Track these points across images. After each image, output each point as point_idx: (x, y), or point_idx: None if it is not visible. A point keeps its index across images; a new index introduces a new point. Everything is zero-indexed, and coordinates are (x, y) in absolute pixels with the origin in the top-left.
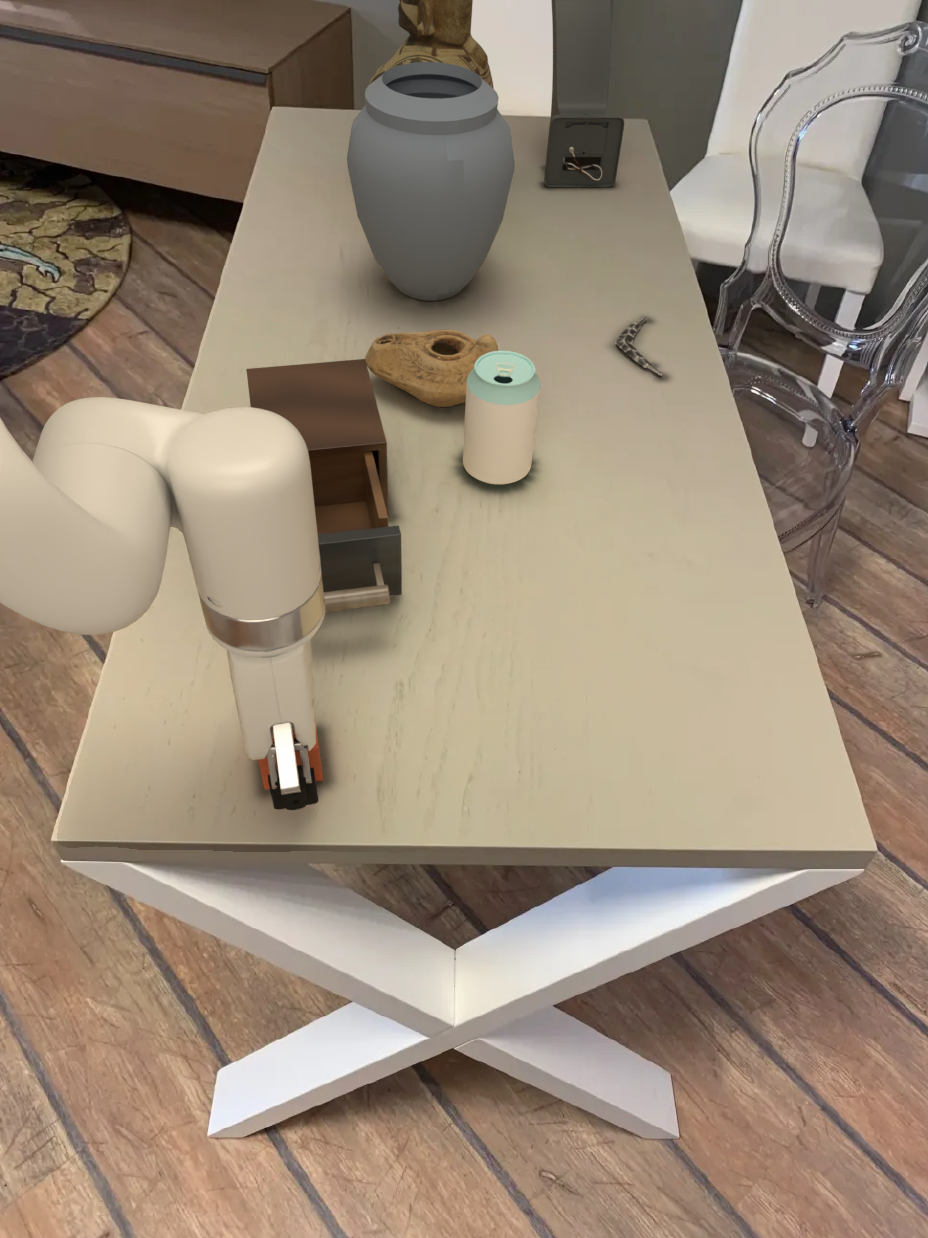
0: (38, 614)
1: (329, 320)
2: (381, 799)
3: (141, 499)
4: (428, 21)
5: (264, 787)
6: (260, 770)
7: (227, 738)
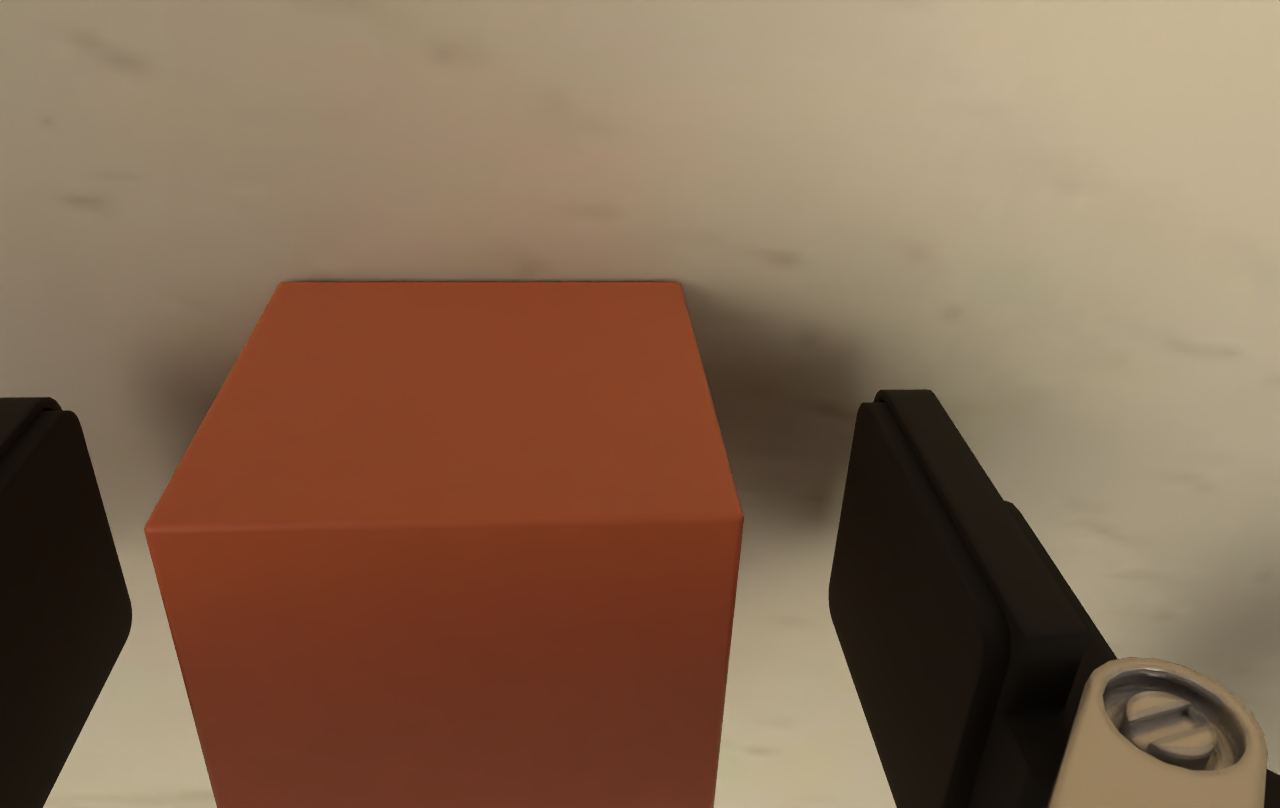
0: None
1: None
2: (194, 804)
3: None
4: None
5: (274, 294)
6: (215, 402)
7: (778, 50)
